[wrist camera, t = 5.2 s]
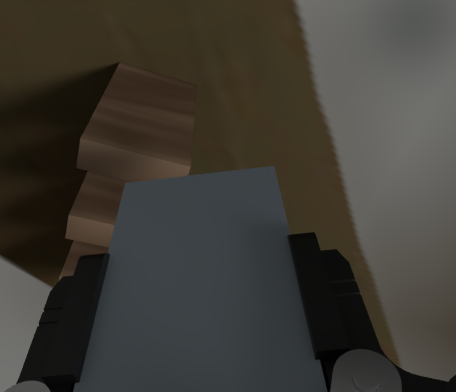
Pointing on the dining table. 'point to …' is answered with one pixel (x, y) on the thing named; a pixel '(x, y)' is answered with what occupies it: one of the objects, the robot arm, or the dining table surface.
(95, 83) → the dining table surface
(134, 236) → the slate domino
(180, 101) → the walnut domino
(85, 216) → the walnut domino
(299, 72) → the dining table surface
